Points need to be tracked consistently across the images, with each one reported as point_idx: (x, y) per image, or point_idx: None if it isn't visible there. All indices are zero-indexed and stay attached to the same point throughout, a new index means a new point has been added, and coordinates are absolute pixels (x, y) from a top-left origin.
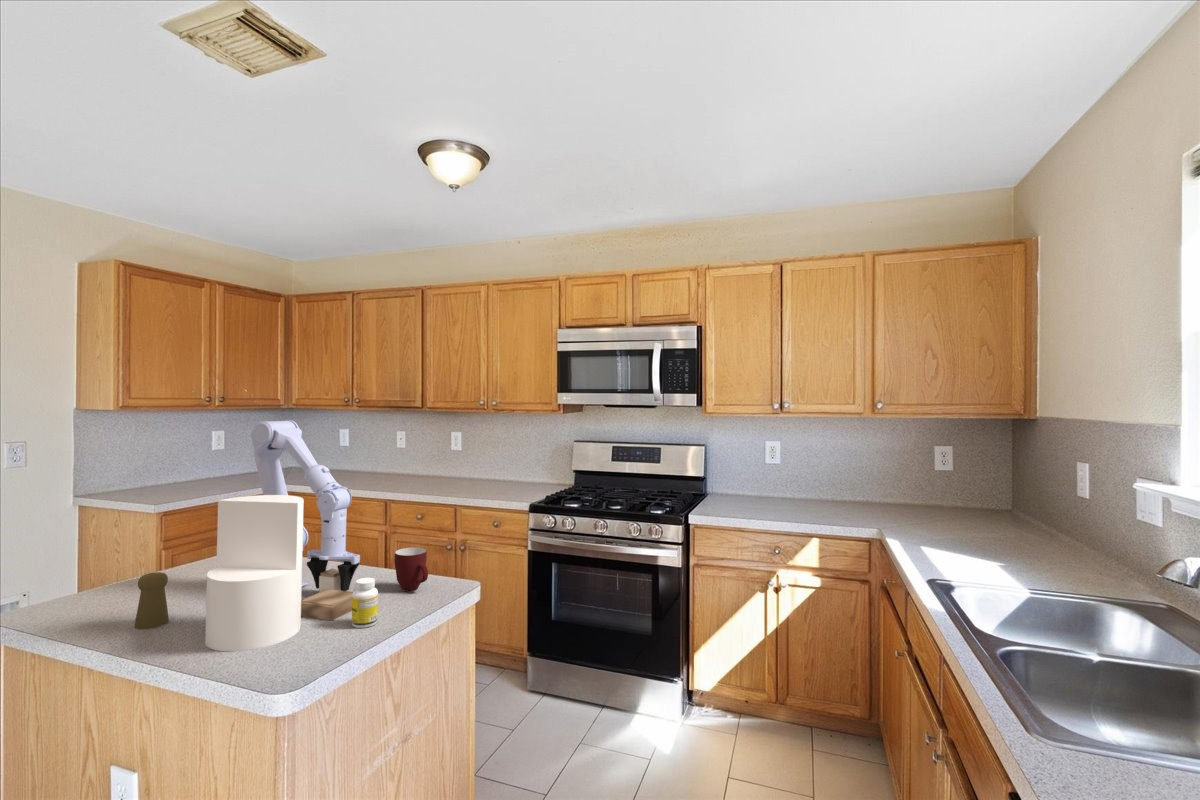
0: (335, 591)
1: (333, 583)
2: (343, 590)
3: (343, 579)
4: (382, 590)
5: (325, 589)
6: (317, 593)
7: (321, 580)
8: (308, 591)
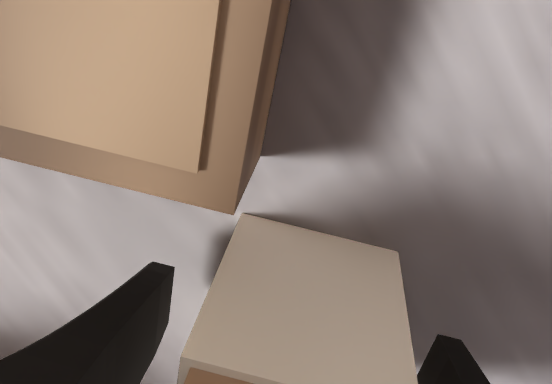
0: (57, 108)
1: (204, 304)
2: (142, 269)
3: (59, 333)
4: None
5: (323, 280)
6: (252, 26)
7: (380, 363)
8: (549, 354)
